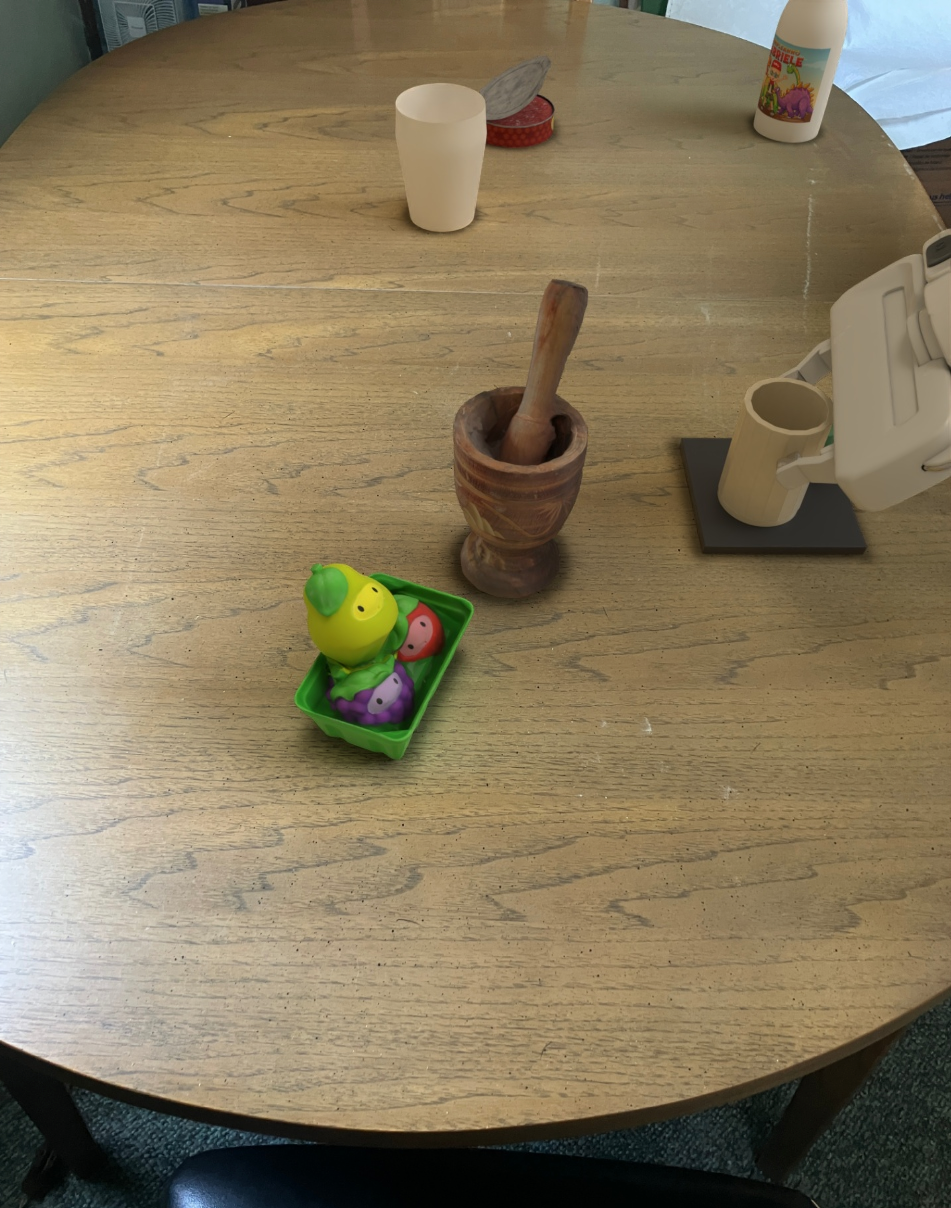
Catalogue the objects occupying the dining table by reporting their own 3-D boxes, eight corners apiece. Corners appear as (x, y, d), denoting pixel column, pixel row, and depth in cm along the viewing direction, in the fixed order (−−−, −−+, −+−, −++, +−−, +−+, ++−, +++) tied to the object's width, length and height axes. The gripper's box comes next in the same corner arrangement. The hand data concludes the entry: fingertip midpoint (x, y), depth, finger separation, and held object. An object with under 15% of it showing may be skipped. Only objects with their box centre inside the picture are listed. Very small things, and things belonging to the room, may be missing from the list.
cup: (385, 210, 102) (378, 92, 92) (461, 191, 104) (461, 75, 95) (421, 251, 97) (418, 131, 87) (499, 230, 99) (504, 112, 90)
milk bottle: (779, 112, 118) (827, -79, 102) (830, 135, 114) (888, -60, 99) (738, 130, 115) (782, -65, 99) (789, 154, 111) (843, -44, 95)
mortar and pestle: (462, 490, 75) (464, 259, 59) (572, 498, 74) (602, 268, 59) (447, 603, 68) (445, 374, 52) (568, 612, 67) (602, 385, 52)
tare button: (829, 429, 76) (835, 416, 75) (837, 449, 75) (842, 436, 74) (800, 429, 76) (804, 415, 75) (806, 449, 75) (811, 436, 74)
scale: (833, 442, 79) (844, 414, 77) (876, 559, 71) (890, 532, 68) (676, 441, 79) (682, 412, 77) (701, 559, 71) (709, 531, 68)
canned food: (530, 190, 114) (521, 133, 104) (459, 159, 116) (445, 100, 107) (577, 115, 115) (573, 51, 105) (506, 85, 117) (496, 21, 108)
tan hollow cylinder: (789, 470, 75) (823, 377, 68) (807, 527, 71) (845, 435, 64) (711, 469, 75) (737, 376, 68) (724, 527, 71) (753, 434, 64)
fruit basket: (409, 787, 58) (400, 684, 50) (282, 740, 60) (252, 633, 52) (477, 649, 65) (480, 536, 56) (361, 611, 67) (346, 496, 58)
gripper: (1028, 479, 54) (804, 564, 63) (986, 282, 66) (804, 376, 75) (979, 406, 51) (751, 506, 60) (945, 214, 63) (761, 320, 72)
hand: (781, 432), depth 68 cm, fingers open, 8 cm apart
